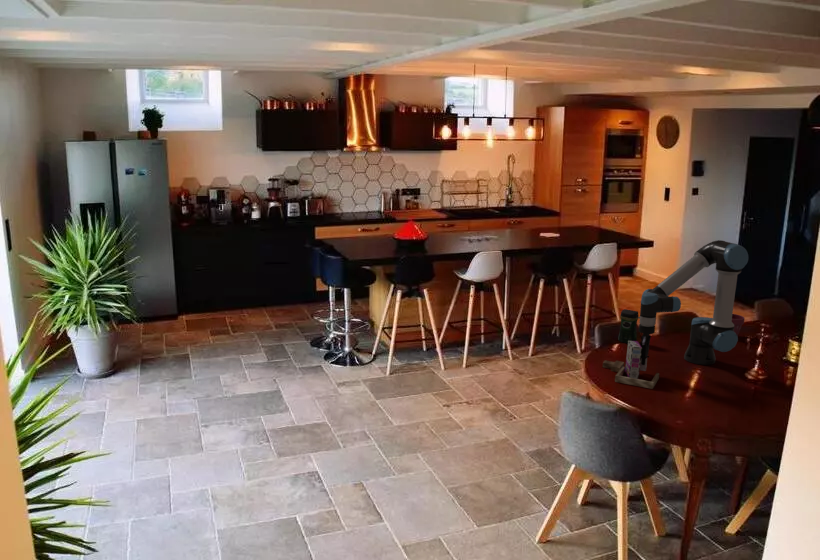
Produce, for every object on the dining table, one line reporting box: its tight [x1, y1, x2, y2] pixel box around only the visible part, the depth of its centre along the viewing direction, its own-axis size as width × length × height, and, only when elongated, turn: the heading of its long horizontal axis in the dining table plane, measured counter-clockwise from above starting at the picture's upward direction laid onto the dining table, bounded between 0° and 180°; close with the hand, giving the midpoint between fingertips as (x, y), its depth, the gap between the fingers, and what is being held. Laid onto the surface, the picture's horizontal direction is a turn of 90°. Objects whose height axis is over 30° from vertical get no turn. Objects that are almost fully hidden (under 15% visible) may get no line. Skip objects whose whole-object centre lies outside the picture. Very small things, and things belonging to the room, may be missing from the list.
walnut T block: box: [602, 360, 625, 373], centre depth 347 cm, size 9×10×2 cm
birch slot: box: [614, 366, 660, 390], centre depth 330 cm, size 17×15×3 cm
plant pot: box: [732, 313, 745, 337], centre depth 403 cm, size 14×14×13 cm
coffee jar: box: [618, 308, 640, 344], centre depth 389 cm, size 10×8×19 cm
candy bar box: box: [624, 341, 642, 379], centre depth 335 cm, size 11×5×16 cm, turn 173°
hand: (643, 370), depth 340 cm, fingers closed
